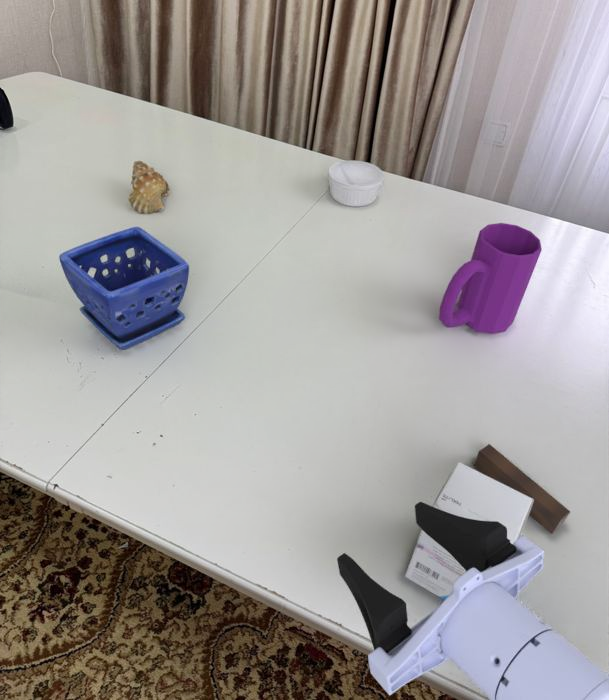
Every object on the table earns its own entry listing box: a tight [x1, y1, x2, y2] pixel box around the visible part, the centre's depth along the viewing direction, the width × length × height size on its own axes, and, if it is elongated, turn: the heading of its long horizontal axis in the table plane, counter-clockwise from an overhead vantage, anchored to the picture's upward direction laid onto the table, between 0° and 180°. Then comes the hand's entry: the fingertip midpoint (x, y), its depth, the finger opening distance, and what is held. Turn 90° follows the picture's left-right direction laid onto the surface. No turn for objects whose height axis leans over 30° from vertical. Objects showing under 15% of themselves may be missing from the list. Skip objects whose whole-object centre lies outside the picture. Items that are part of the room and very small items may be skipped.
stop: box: [473, 443, 571, 535], centre depth 75 cm, size 12×2×3 cm, turn 38°
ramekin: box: [327, 159, 385, 208], centre depth 126 cm, size 11×11×5 cm
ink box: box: [404, 461, 534, 601], centre depth 64 cm, size 9×8×12 cm
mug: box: [438, 222, 542, 335], centre depth 94 cm, size 9×16×15 cm, turn 124°
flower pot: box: [58, 226, 190, 351], centre depth 90 cm, size 13×13×12 cm
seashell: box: [127, 160, 171, 215], centre depth 119 cm, size 9×8×10 cm
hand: (381, 537), depth 48 cm, fingers open, 7 cm apart
